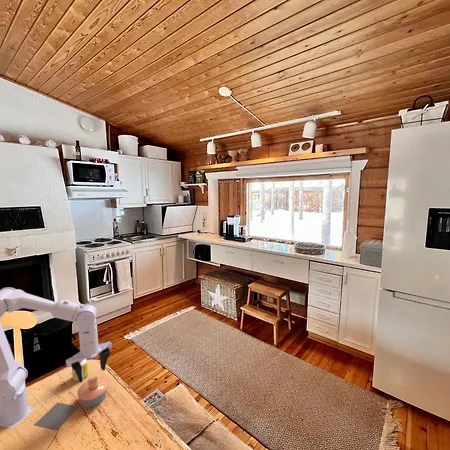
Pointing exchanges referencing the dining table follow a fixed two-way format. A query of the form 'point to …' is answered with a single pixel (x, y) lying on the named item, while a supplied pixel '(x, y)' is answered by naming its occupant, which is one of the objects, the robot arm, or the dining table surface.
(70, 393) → the dining table surface
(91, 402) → the cup
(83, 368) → the supplement bottle
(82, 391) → the lid
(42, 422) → the mat
